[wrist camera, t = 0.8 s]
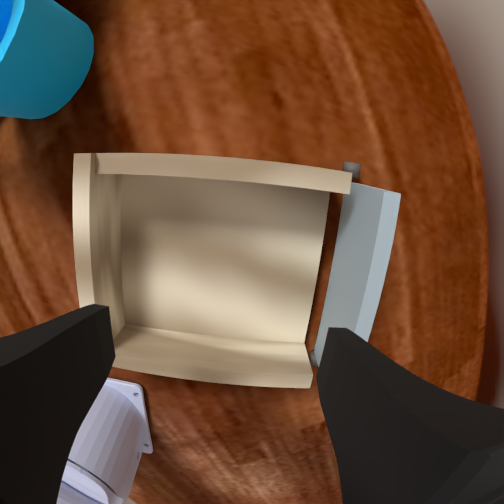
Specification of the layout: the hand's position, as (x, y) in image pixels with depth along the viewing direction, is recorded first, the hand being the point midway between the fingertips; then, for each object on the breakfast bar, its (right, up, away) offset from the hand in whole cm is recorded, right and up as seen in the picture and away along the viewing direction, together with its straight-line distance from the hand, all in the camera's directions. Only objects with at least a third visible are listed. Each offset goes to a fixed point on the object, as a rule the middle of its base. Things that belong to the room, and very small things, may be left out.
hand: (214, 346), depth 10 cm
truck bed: (-1, +3, +9) cm, 10 cm away
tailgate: (+6, +2, +9) cm, 11 cm away
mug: (-15, +16, +6) cm, 23 cm away
